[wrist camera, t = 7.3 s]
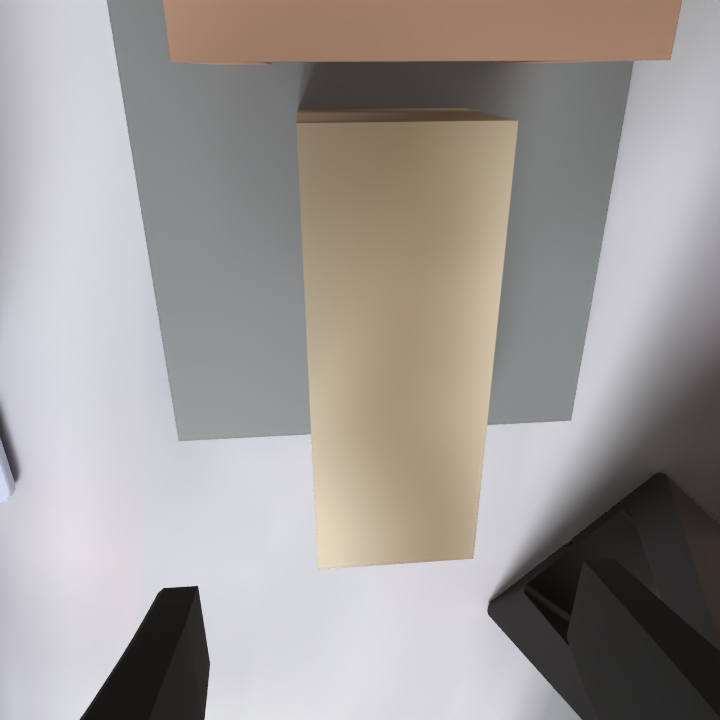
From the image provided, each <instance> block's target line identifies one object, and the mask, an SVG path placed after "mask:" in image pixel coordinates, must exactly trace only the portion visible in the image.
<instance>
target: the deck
mask: <svg viewBox="0 0 720 720" xmlns="http://www.w3.org/2000/svg"><path fill="white" fill-rule="evenodd" d="M107 4H108V10H109V16H110V22H111V28H112V34H113V41H114V47H115V53H116V59H117V65H118V71H119V77H120V83H121V90H122V96H123V102H124V108H125V114H126V120H127V126H128V133H129V139H130V145H131V151H132V157H133V163H134V169H135V175H136V182H137V188H138V194H139V200H140V206H141V212H142V218H143V224H144V231H145V237H146V243H147V249H148V255H149V261H150V267H151V273H152V280H153V286H154V292H155V298H156V304H157V310H158V316H159V323H160V329H161V335H162V341H163V347H164V353H165V359H166V365H167V372H168V378H169V384H170V390H171V396H172V402H173V408H174V414H175V421H176V427H177V433H178V439H179V441H190V440H209V439H228V438H247V437H266V436H286V435H305V434H311V419H310V398H309V377H308V356H307V335H306V314H305V293H304V273H303V252H302V231H301V210H300V189H299V168H298V147H297V126H296V121H297V110H311V109H405V108H467V109H471V110H476V111H480V112H484V113H488V114H493V115H497V116H501V117H506V118H510V119H514V120H518V130H517V139H516V149H515V159H514V169H513V178H512V188H511V198H510V207H509V217H508V227H507V236H506V246H505V256H504V266H503V275H502V285H501V295H500V304H499V314H498V324H497V333H496V343H495V353H494V363H493V372H492V382H491V392H490V401H489V411H488V421H487V425H496V424H515V423H534V422H553V421H571V417H572V412H573V406H574V400H575V394H576V389H577V383H578V377H579V371H580V366H581V360H582V354H583V349H584V343H585V337H586V331H587V326H588V320H589V314H590V308H591V303H592V297H593V291H594V285H595V280H596V274H597V268H598V263H599V257H600V251H601V245H602V240H603V234H604V228H605V222H606V217H607V211H608V205H609V199H610V194H611V188H612V182H613V176H614V171H615V165H616V159H617V154H618V148H619V142H620V136H621V131H622V125H623V119H624V113H625V108H626V102H627V96H628V90H629V85H630V79H631V73H632V68H633V62H634V61H602V62H566V63H494V61H378V62H271V64H243V65H215V64H199V63H183V62H171V59H170V51H169V44H168V36H167V28H166V20H165V12H164V4H163V0H107Z"/></svg>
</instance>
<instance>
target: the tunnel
mask: <svg viewBox="0 0 720 720" xmlns="http://www.w3.org/2000/svg"><path fill="white" fill-rule="evenodd" d="M681 3H682V0H163V4H164V12H165V20H166V28H167V36H168V44H169V51H170V59H171V62H183V63H199V64H215V65H243V64H271V62H378V61H494V63H566V62H602V61H638V60H670V59H671V54H672V49H673V44H674V39H675V34H676V28H677V23H678V18H679V13H680V8H681Z"/></svg>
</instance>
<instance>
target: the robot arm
mask: <svg viewBox="0 0 720 720" xmlns="http://www.w3.org/2000/svg"><path fill="white" fill-rule="evenodd" d="M14 491H15V482H14V479H13V476H12V473H11V470H10V467H9V464H8V460H7V457H6V454H5V451H4V448H3V445H2V441H1V438H0V503H3V502H6V501H7V500H9V499H10V497H11V496H12V495H13V493H14ZM567 639H568V642H569V645H570V648H571V651H572V654H573V657H574V660H575V663H576V666H577V669H578V672H579V675H580V677H581V680H582V683H583V686H584V688H585V691H586V694H587V696H588V698H589V700H590V702H591V704H592V707H593V709H594V711H595V713H596V715H597V717H598V719H599V720H720V651H719V650H718V649H717V648H716V647H714V646H713V645H712V644H711V643H710V642H709V641H707V640H706V639H705V638H704V637H703V636H702V635H700V634H699V633H698V632H697V631H696V630H695V629H693V628H692V627H691V626H690V625H689V624H688V623H686V622H685V621H684V620H683V619H682V618H681V617H680V616H678V615H677V614H676V613H675V612H674V611H673V610H672V609H671V608H669V607H668V606H667V605H666V604H665V603H664V602H663V601H662V600H660V599H659V598H658V597H657V596H656V595H655V594H654V593H653V592H651V591H650V590H649V589H648V588H647V587H646V586H645V585H644V584H642V583H641V582H640V581H639V580H638V579H637V578H636V577H635V576H633V575H632V574H631V573H630V572H629V571H628V570H627V569H626V568H624V567H623V566H622V565H621V564H620V563H619V562H617V561H616V560H615V559H602V560H587V561H583V564H582V569H581V574H580V578H579V583H578V587H577V592H576V596H575V601H574V605H573V610H572V614H571V619H570V623H569V628H568V632H567ZM209 668H210V661H209V654H208V648H207V641H206V635H205V629H204V622H203V616H202V609H201V603H200V596H199V590H198V586H191V587H176V588H163V589H162V590H161V591H160V592H159V593H158V594H157V596H156V598H155V600H154V602H153V604H152V605H151V607H150V609H149V611H148V613H147V614H146V616H145V618H144V620H143V621H142V623H141V625H140V627H139V628H138V630H137V632H136V633H135V635H134V637H133V638H132V640H131V642H130V643H129V645H128V647H127V648H126V650H125V652H124V653H123V655H122V656H121V658H120V660H119V661H118V663H117V664H116V666H115V667H114V669H113V670H112V672H111V674H110V675H109V677H108V678H107V680H106V681H105V683H104V684H103V686H102V687H101V689H100V690H99V692H98V693H97V695H96V697H95V698H94V700H93V701H92V703H91V704H90V706H89V707H88V708H87V710H86V711H85V713H84V714H83V716H82V717H81V718H80V720H204V719H205V709H206V700H207V689H208V679H209Z"/></svg>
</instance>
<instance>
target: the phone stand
mask: <svg viewBox="0 0 720 720" xmlns="http://www.w3.org/2000/svg"><path fill="white" fill-rule="evenodd" d="M602 559H615V560H616V561H617V562H619V563H620V564H621V565H622V566H623V567H624V568H626V569H627V570H628V571H629V572H630V573H631V574H632V575H633V576H635V577H636V578H637V579H638V580H639V581H640V582H641V583H642V584H644V585H645V586H646V587H647V588H648V589H649V590H650V591H651V592H653V593H654V594H655V595H656V596H657V597H658V598H659V599H660V600H662V601H663V602H664V603H665V604H666V605H667V606H668V607H669V608H671V609H672V610H673V611H674V612H675V613H676V614H677V615H678V616H680V617H681V618H682V619H683V620H684V621H685V622H686V623H688V624H689V625H690V626H691V627H692V628H693V629H695V630H696V631H697V632H698V633H699V634H700V635H702V636H703V637H704V638H705V639H706V640H707V641H709V642H710V643H711V644H712V645H713V646H714V647H716V648H717V649H718V650H719V651H720V526H719V525H718V524H717V523H716V522H715V521H714V520H713V519H711V518H710V517H709V516H708V515H707V514H706V513H705V512H704V511H703V510H702V509H701V508H700V507H699V506H698V505H697V504H696V503H695V502H694V501H693V500H692V499H691V498H689V497H688V496H687V495H686V494H685V493H684V492H683V491H682V490H681V489H680V488H679V487H678V486H677V485H676V484H675V483H674V482H673V481H672V480H671V479H670V478H669V477H668V476H666V475H665V474H663V473H658V474H655V475H654V476H652V477H651V478H650V479H648V480H647V481H646V482H645V483H643V484H642V485H641V486H639V487H638V488H637V489H636V490H634V491H633V492H632V493H630V494H629V495H628V496H627V497H625V498H624V499H623V500H621V501H620V502H619V503H618V504H616V505H615V506H614V507H612V508H611V509H610V510H609V511H607V512H606V513H605V514H603V515H602V516H601V517H600V518H598V519H597V520H596V521H594V522H593V523H592V524H591V525H589V526H588V527H587V528H585V529H584V530H583V531H582V532H580V533H579V534H578V535H576V536H575V537H574V538H573V543H572V544H571V545H569V546H567V545H566V544H565V545H564V546H562V547H561V548H560V549H558V550H557V551H556V552H555V553H553V554H552V555H551V556H549V557H548V558H547V559H546V560H544V561H543V562H542V563H540V564H539V565H538V566H537V567H535V568H534V569H533V570H531V571H530V572H529V573H528V574H526V575H525V576H524V577H522V578H521V579H520V580H519V581H517V582H516V583H515V584H513V585H512V586H511V587H510V588H508V589H507V590H506V591H504V592H503V593H502V594H501V595H499V596H498V597H497V598H495V599H494V600H493V601H492V602H491V603H490V604H489V606H488V615H489V616H490V617H491V618H492V619H493V620H494V622H495V623H496V624H497V625H498V626H499V627H500V628H501V629H502V631H503V632H504V633H505V634H506V635H507V636H508V637H509V638H510V639H511V641H512V642H513V643H514V644H515V645H516V646H517V647H518V648H519V650H520V651H521V652H522V653H523V654H524V655H525V656H526V657H527V658H528V660H529V661H530V662H531V663H532V664H533V665H534V666H535V667H536V669H537V670H538V671H539V672H540V673H541V674H542V675H543V676H544V677H545V679H546V680H547V681H548V682H549V683H550V684H551V685H552V686H553V688H554V689H555V690H556V691H557V692H558V693H559V694H560V695H561V696H562V698H563V699H564V700H565V701H566V702H567V703H568V704H569V705H570V707H571V708H572V709H573V710H574V711H575V712H576V713H577V714H578V715H579V717H580V718H581V719H582V720H599V719H598V717H597V715H596V713H595V711H594V709H593V707H592V704H591V702H590V700H589V698H588V696H587V694H586V691H585V688H584V686H583V683H582V680H581V677H580V675H579V672H578V669H577V666H576V663H575V660H574V657H573V654H572V651H571V648H570V645H569V642H568V639H567V632H568V628H569V623H570V619H571V614H572V610H573V605H574V601H575V596H576V592H577V587H578V583H579V578H580V574H581V569H582V564H583V561H587V560H602Z"/></svg>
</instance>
